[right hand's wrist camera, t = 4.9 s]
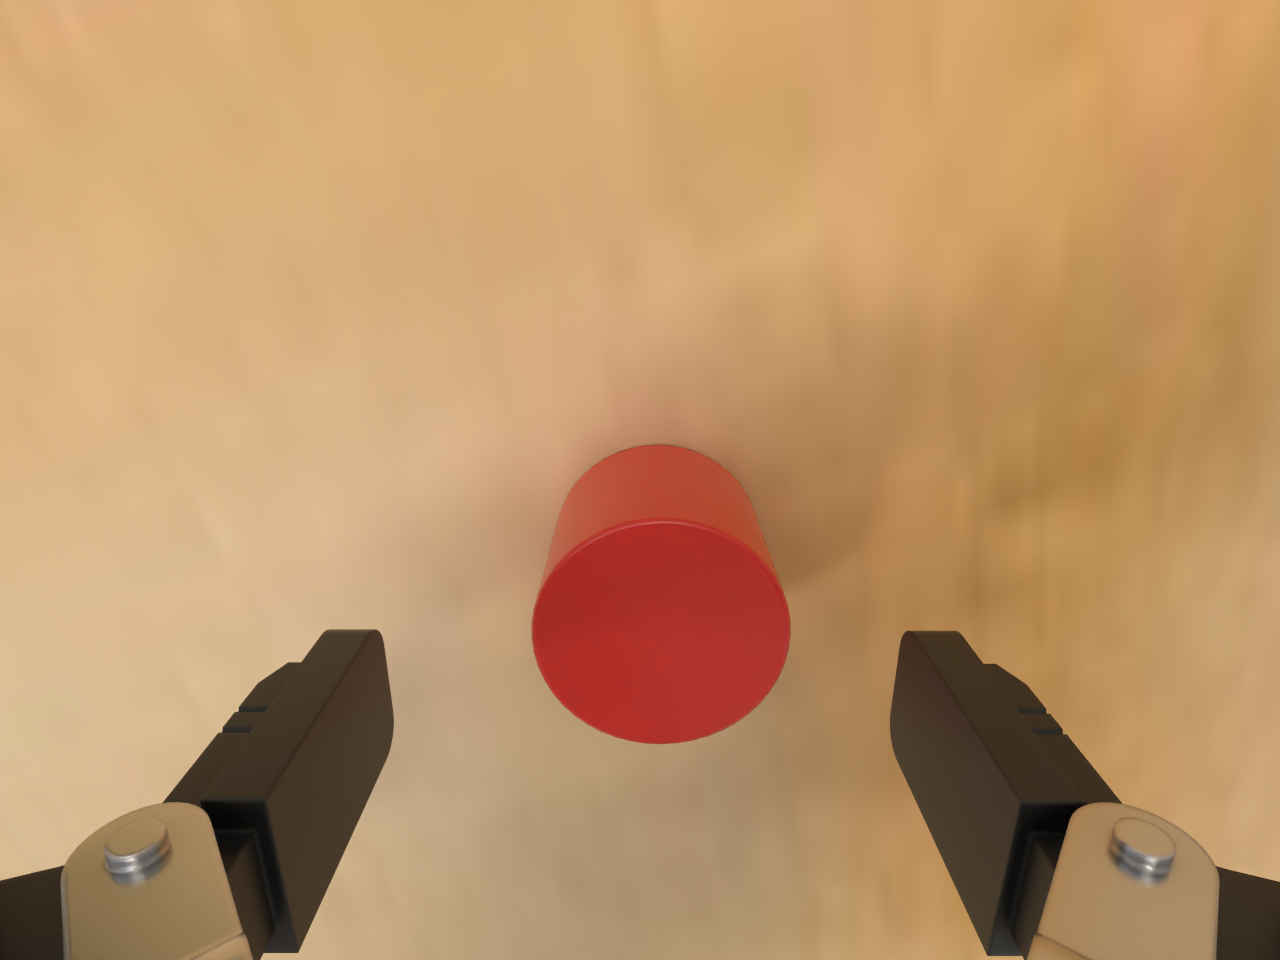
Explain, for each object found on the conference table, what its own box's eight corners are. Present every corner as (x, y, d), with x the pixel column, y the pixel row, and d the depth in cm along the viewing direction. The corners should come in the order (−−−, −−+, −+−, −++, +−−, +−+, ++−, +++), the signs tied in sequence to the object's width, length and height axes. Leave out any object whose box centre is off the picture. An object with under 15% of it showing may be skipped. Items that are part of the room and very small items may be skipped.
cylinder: (523, 574, 17) (487, 681, 13) (616, 407, 16) (608, 472, 12) (692, 657, 18) (706, 782, 14) (796, 503, 17) (843, 594, 13)
